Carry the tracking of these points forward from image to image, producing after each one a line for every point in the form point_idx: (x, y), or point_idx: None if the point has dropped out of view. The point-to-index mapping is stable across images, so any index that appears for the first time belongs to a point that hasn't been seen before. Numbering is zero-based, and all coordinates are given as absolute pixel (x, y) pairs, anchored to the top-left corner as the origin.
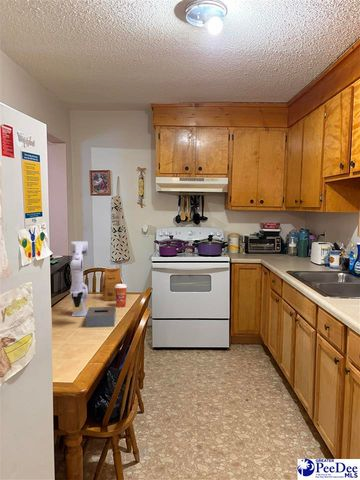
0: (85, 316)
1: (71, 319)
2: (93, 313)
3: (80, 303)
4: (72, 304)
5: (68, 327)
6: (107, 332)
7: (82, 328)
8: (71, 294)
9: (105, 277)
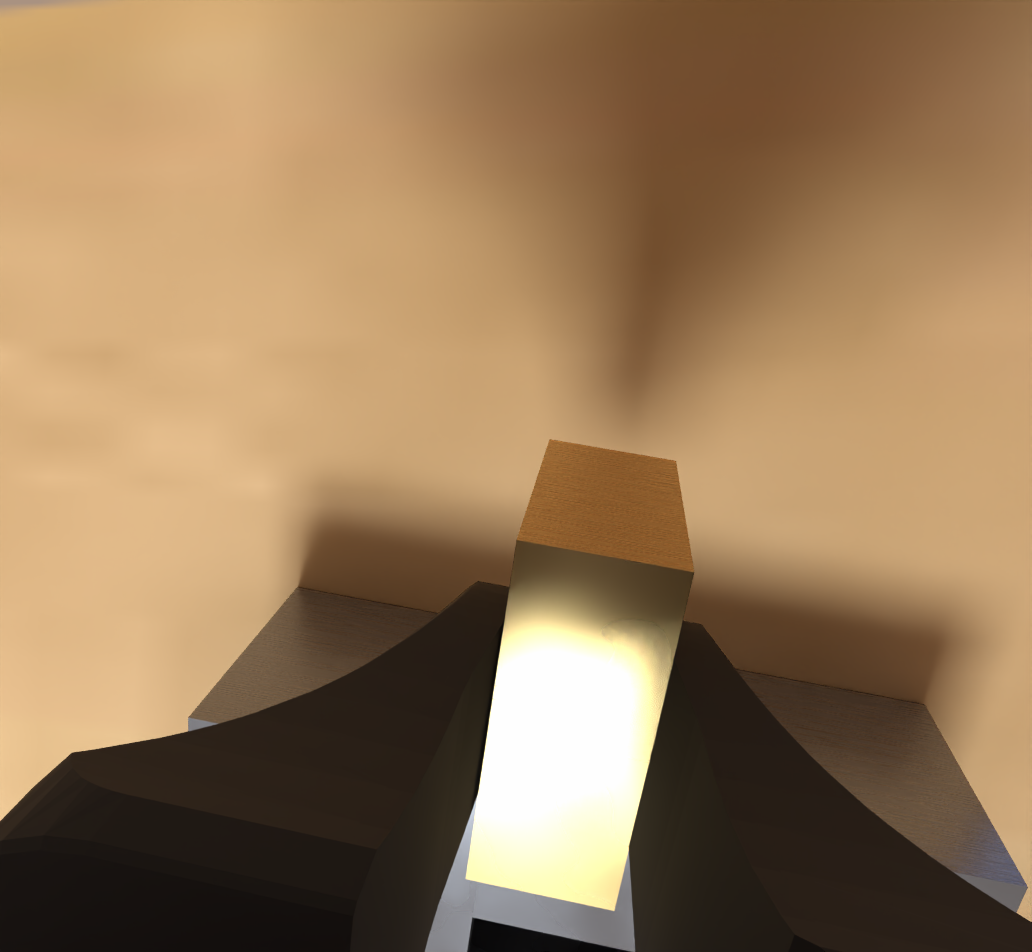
0: (190, 715)
1: (936, 323)
2: None
3: (486, 836)
4: (521, 528)
5: (344, 264)
6: None
7: (244, 532)
8: (203, 879)
9: None
